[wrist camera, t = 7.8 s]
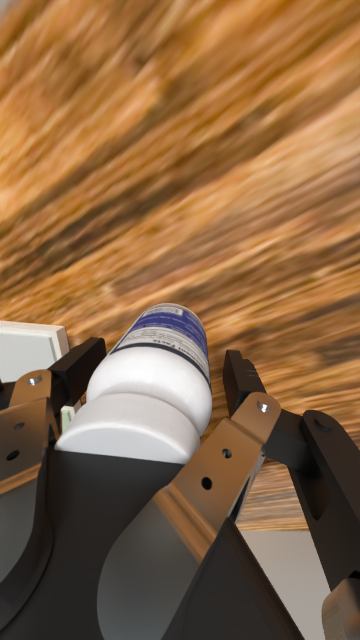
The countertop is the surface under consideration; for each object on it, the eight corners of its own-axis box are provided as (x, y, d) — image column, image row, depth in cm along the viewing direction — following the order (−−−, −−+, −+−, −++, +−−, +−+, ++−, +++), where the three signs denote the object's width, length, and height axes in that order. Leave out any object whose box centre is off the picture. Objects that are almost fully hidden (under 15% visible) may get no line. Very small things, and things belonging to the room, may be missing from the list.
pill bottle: (174, 376, 16) (140, 547, 7) (122, 335, 15) (3, 473, 6) (221, 334, 14) (263, 495, 5) (166, 285, 13) (90, 371, 4)
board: (64, 326, 15) (53, 332, 14) (98, 490, 24) (93, 503, 23) (-43, 316, 16) (-63, 322, 15) (28, 480, 25) (20, 491, 24)
